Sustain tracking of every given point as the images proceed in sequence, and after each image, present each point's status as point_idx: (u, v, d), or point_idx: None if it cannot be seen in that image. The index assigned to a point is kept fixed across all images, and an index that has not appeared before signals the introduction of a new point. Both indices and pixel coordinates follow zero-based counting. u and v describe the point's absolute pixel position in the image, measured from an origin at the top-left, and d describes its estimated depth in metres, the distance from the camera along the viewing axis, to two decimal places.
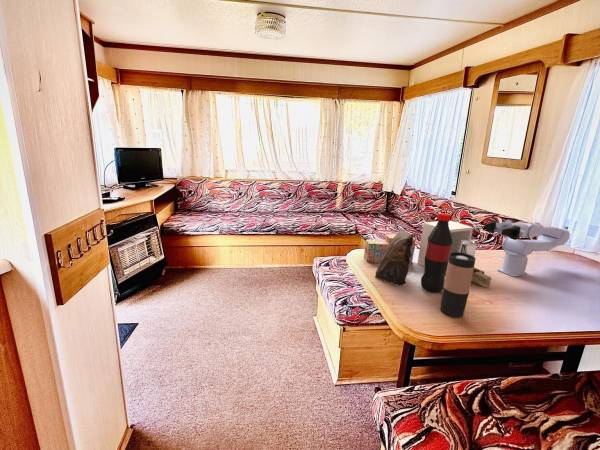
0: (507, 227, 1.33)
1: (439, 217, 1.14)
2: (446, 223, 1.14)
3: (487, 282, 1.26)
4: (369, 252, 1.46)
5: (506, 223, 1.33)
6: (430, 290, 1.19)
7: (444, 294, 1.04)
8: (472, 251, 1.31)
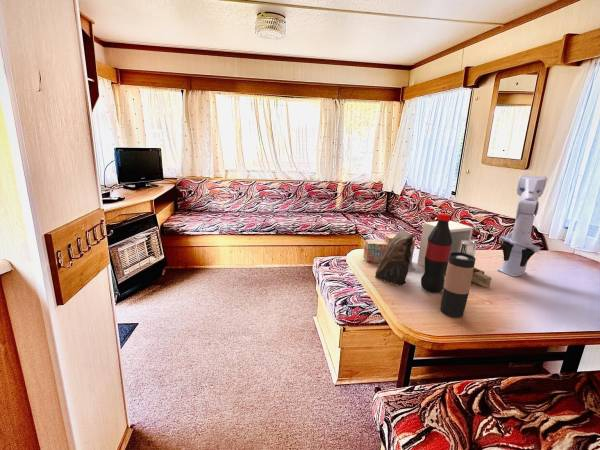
0: None
1: (439, 217, 1.14)
2: (446, 223, 1.14)
3: (487, 282, 1.26)
4: (368, 252, 1.45)
5: (513, 243, 1.25)
6: (430, 290, 1.19)
7: (444, 294, 1.04)
8: (472, 251, 1.31)
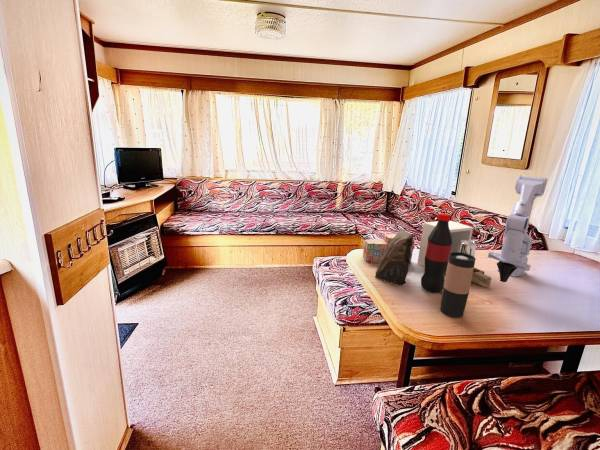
0: None
1: (439, 217, 1.14)
2: (446, 223, 1.14)
3: (487, 282, 1.26)
4: (368, 252, 1.46)
5: None
6: (430, 290, 1.19)
7: (444, 294, 1.04)
8: (472, 251, 1.31)
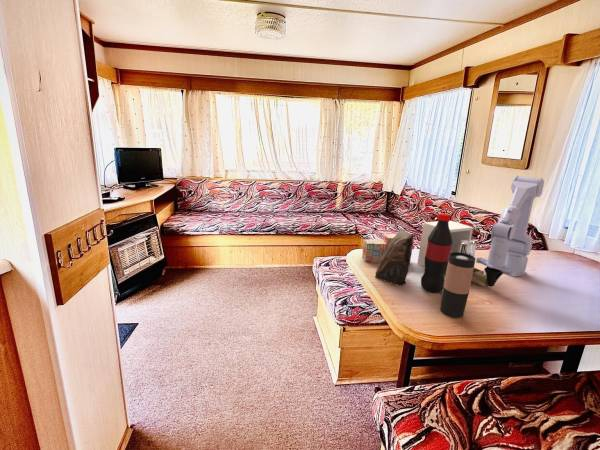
0: None
1: (439, 217, 1.14)
2: (446, 223, 1.14)
3: (486, 282, 1.26)
4: (367, 252, 1.46)
5: None
6: (430, 290, 1.19)
7: (444, 294, 1.04)
8: (472, 251, 1.31)
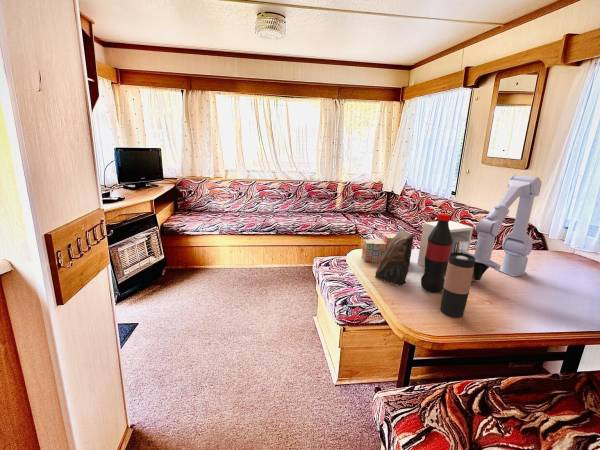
0: None
1: (439, 217, 1.14)
2: (446, 223, 1.14)
3: (474, 276, 1.31)
4: (367, 252, 1.46)
5: None
6: (430, 290, 1.19)
7: (444, 294, 1.04)
8: (464, 248, 1.34)
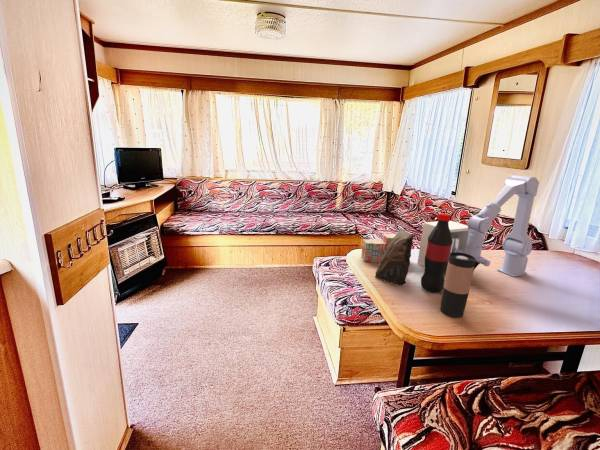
0: None
1: (439, 217, 1.14)
2: (446, 223, 1.14)
3: None
4: (366, 252, 1.46)
5: None
6: (430, 290, 1.19)
7: (444, 294, 1.04)
8: (455, 245, 1.38)
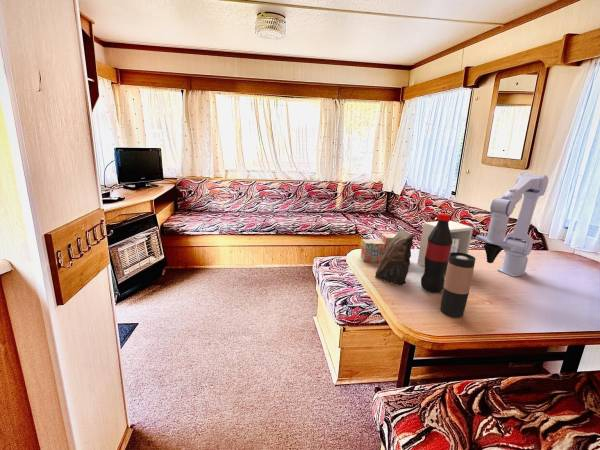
0: None
1: (439, 217, 1.14)
2: (446, 223, 1.14)
3: None
4: (366, 252, 1.46)
5: None
6: (430, 290, 1.19)
7: (444, 294, 1.04)
8: (455, 245, 1.38)
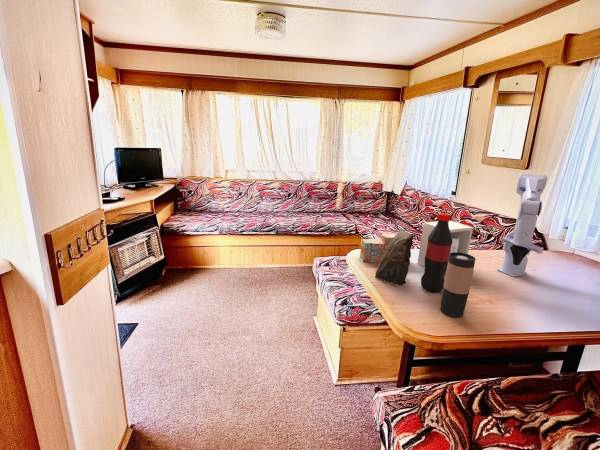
0: None
1: (439, 217, 1.14)
2: (446, 223, 1.14)
3: None
4: (365, 252, 1.46)
5: (516, 244, 1.22)
6: (430, 290, 1.19)
7: (444, 294, 1.04)
8: (455, 245, 1.38)
